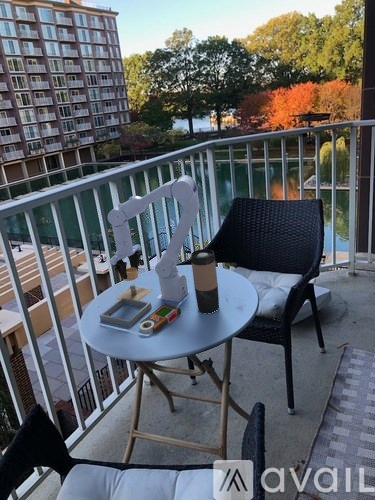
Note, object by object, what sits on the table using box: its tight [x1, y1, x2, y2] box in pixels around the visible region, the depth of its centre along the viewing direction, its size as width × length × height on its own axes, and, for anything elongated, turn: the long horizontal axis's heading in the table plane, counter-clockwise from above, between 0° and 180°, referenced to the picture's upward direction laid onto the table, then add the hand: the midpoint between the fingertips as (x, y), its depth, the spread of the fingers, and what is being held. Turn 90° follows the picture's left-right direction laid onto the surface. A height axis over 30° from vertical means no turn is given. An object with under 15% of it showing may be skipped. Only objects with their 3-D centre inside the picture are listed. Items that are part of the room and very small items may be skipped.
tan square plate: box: [115, 284, 153, 301], centre depth 137 cm, size 10×10×4 cm
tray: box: [99, 298, 153, 328], centre depth 125 cm, size 12×12×2 cm
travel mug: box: [190, 248, 220, 315], centre depth 120 cm, size 8×8×20 cm
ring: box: [118, 266, 139, 282], centre depth 135 cm, size 7×6×3 cm
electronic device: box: [139, 303, 182, 335], centre depth 118 cm, size 7×3×15 cm
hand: (130, 275), depth 134 cm, fingers closed on ring, 5 cm apart
